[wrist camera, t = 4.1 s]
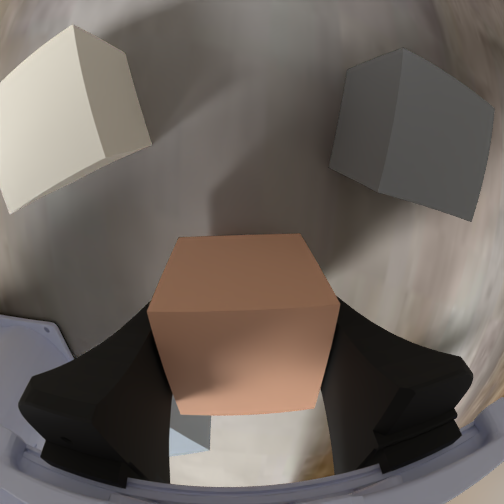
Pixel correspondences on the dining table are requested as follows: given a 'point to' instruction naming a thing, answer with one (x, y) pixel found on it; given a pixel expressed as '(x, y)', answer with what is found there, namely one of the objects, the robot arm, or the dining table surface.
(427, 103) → the charcoal cube
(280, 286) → the terracotta cube
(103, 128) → the cream cube
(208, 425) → the slate blue cube
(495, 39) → the dining table surface
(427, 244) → the dining table surface
